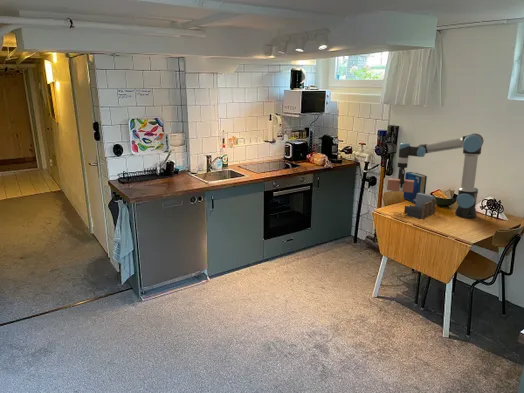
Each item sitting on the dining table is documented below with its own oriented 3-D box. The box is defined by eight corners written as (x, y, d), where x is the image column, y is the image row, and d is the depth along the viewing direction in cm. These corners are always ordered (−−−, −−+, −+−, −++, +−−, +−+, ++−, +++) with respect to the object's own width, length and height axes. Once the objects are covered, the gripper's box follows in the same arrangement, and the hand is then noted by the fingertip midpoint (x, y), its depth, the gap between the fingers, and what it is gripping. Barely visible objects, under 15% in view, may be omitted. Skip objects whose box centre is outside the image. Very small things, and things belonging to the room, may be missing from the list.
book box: (387, 188, 329) (388, 178, 326) (412, 190, 322) (414, 180, 320) (386, 190, 323) (387, 179, 321) (412, 192, 317) (414, 181, 314)
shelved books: (418, 209, 324) (420, 192, 320) (432, 213, 316) (435, 195, 311) (414, 211, 320) (416, 193, 316) (429, 214, 312) (431, 196, 308)
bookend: (405, 212, 317) (405, 204, 315) (424, 217, 306) (425, 208, 304) (400, 214, 313) (401, 205, 311) (420, 219, 301) (421, 210, 299)
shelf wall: (432, 213, 315) (434, 199, 312) (434, 213, 314) (436, 199, 311) (421, 218, 302) (423, 203, 299) (423, 219, 301) (424, 204, 298)
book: (401, 198, 357) (404, 171, 350) (408, 197, 359) (411, 170, 352) (417, 204, 337) (420, 176, 331) (424, 204, 339) (427, 175, 333)
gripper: (396, 160, 326) (393, 186, 333) (399, 164, 308) (397, 193, 314) (405, 160, 325) (402, 187, 331) (410, 165, 306) (406, 193, 313)
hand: (399, 190), depth 323 cm, fingers closed on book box, 7 cm apart
